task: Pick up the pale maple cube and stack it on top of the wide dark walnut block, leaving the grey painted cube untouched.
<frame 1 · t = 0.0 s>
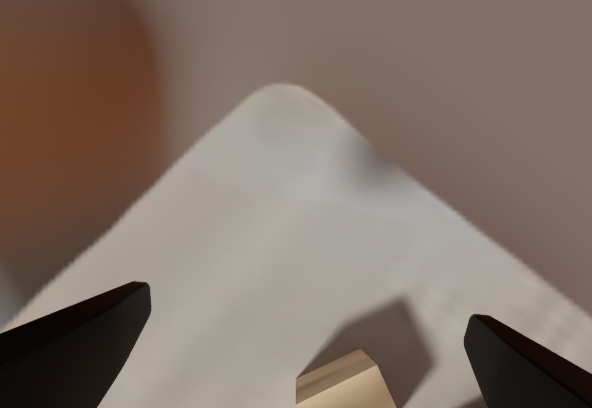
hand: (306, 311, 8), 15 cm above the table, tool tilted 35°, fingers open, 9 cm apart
maple cube: (343, 399, 21), on the table
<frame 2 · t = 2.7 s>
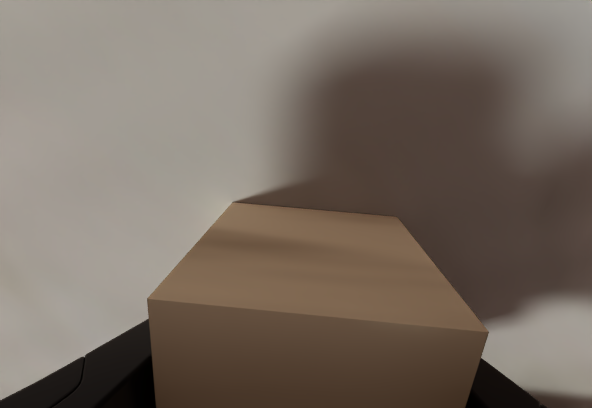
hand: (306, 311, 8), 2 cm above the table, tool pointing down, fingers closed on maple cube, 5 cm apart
maple cube: (307, 281, 10), on the table, touching gripper
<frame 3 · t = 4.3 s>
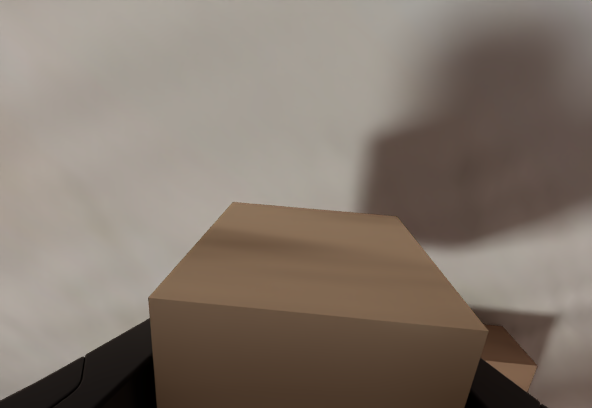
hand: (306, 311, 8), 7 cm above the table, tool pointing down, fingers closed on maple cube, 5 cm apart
maple cube: (307, 281, 10), point 5 cm above the table, touching gripper
walnut block: (397, 378, 18), on the table
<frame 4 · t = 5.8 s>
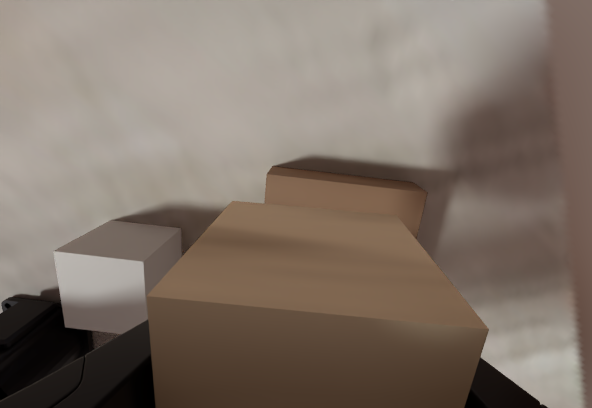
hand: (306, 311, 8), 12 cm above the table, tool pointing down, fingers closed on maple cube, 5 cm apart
maple cube: (306, 280, 10), point 10 cm above the table, touching gripper
grey cube: (148, 255, 22), on the table
walnut block: (332, 236, 21), on the table
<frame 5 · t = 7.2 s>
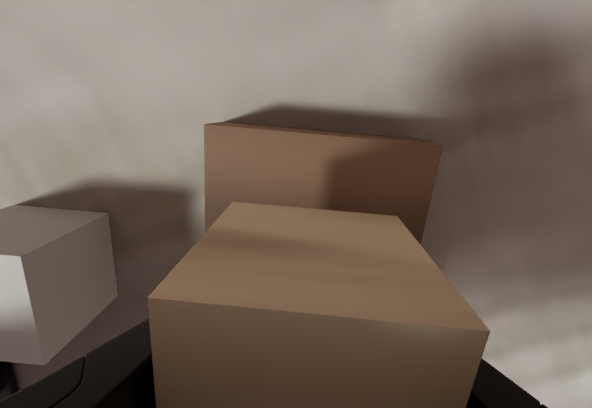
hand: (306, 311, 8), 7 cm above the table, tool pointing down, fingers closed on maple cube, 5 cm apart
maple cube: (307, 281, 10), point 6 cm above the table, touching gripper
grey cube: (69, 251, 17), on the table
walnut block: (311, 219, 16), on the table
when the fingers open (6 cm above the table, at t = 8.7 s): maple cube drops 2 cm, resting on walnut block.
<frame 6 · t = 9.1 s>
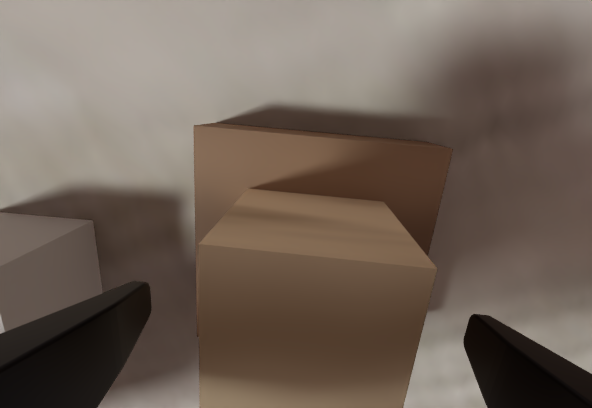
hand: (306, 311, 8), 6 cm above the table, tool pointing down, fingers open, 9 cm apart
maple cube: (308, 256, 12), point 2 cm above the table, touching walnut block
grey cube: (52, 261, 16), on the table
walnut block: (309, 226, 15), on the table, touching maple cube
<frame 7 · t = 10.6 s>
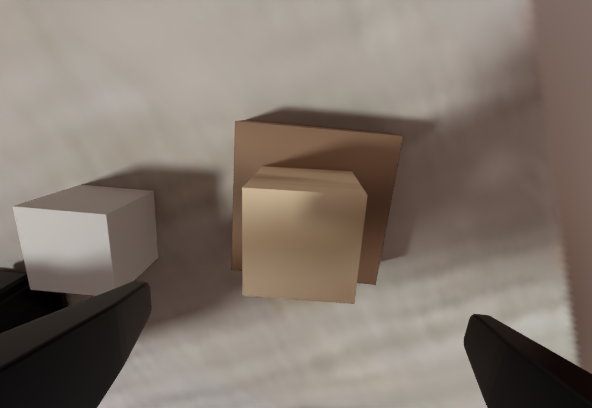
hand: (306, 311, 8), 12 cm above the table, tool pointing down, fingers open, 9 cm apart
maple cube: (304, 211, 18), point 3 cm above the table, touching walnut block
grey cube: (121, 221, 21), on the table
walnut block: (310, 195, 20), on the table, touching maple cube
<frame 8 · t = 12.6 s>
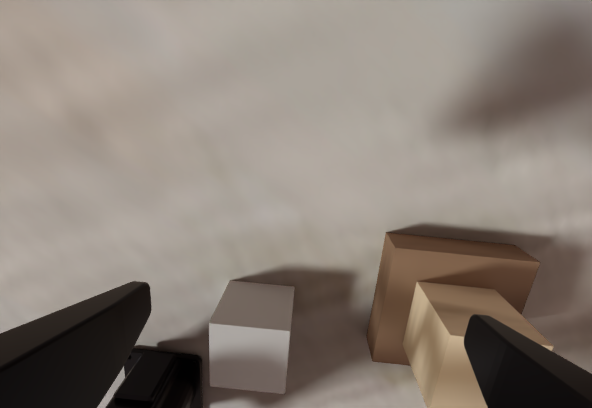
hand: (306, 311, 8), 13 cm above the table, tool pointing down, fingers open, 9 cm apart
maple cube: (446, 318, 20), point 2 cm above the table, touching walnut block
grey cube: (261, 310, 24), on the table
walnut block: (433, 290, 23), on the table, touching maple cube
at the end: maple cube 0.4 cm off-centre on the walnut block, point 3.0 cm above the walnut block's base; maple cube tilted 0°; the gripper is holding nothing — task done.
